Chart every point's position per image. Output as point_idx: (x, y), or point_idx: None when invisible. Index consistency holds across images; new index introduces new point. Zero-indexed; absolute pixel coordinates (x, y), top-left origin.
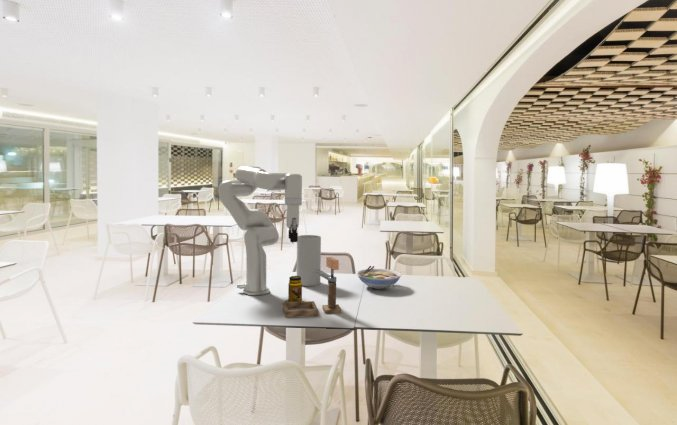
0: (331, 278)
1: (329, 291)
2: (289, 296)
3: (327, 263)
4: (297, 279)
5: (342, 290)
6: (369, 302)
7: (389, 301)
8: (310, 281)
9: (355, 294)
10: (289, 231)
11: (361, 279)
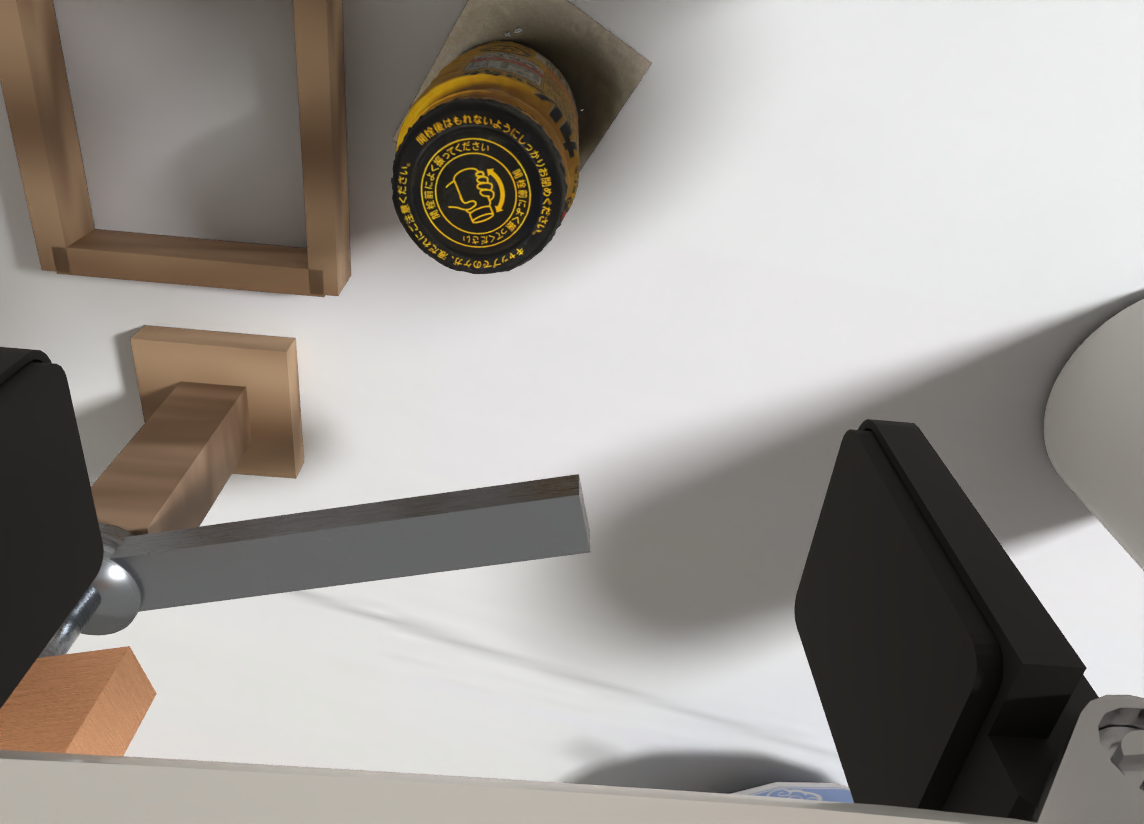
0: None
1: (109, 470)
2: (463, 57)
3: (66, 689)
4: (398, 208)
5: (791, 605)
6: (414, 684)
7: None
8: (1071, 415)
9: (644, 658)
10: (953, 632)
11: (782, 797)
